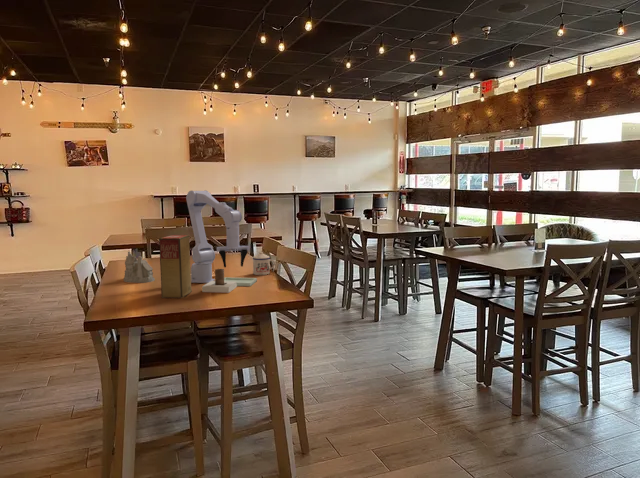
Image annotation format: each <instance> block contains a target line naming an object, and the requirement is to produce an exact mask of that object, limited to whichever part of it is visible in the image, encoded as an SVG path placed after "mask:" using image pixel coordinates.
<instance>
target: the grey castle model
mask: <svg viewBox="0 0 640 478" xmlns="http://www.w3.org/2000/svg"><path fill="white" fill-rule="evenodd" d="M124 265H125V267H124V268H125V270H124V275H123V276H124V278H123V282H125V283H133V284H136V283H137V284H138V283H139V284H145V283H146V284H148V283H152V282H155V280H156V279H155V277H154V272H153V270H154V269H153V267H152V266H151V265H150V263H148V261H147V259H143V257H142V256H140V255H139V256H138V257H136V256H134V255H133V254H132V253H131V251H127V256H126V257H125V261H124Z"/></svg>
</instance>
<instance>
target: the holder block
mask: <svg viewBox="0 0 640 478" xmlns="http://www.w3.org/2000/svg"><path fill="white" fill-rule="evenodd" d="M236 288H238V286H237V282H235V281H224V285H215V280H214V281H210V282H209V283H204V285H202V286H201V291H202V293H226V294H229V293H231V292H232V291H233V290H235V289H236Z"/></svg>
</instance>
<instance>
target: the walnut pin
mask: <svg viewBox="0 0 640 478" xmlns="http://www.w3.org/2000/svg"><path fill="white" fill-rule="evenodd" d="M224 278H225V269H223V268H216V269H214V279H215V280H214V281H215V285H224Z"/></svg>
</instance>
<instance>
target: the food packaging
mask: <svg viewBox="0 0 640 478" xmlns="http://www.w3.org/2000/svg"><path fill="white" fill-rule="evenodd" d="M158 241H159V262H160V263H159V265H160V268H159V269H160V284H161V285H160V288H161V291H160V292H161V299H183V298H184V297H186V296H187V295H189V294H190V293H192V283H191V254H190V253H191V250H190V249H191V247H190V235H188V234H187V235H185V234H182V235H181V234H180V235H179V234H172V235H167V236H163V237H161V238H159V239H158Z"/></svg>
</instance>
